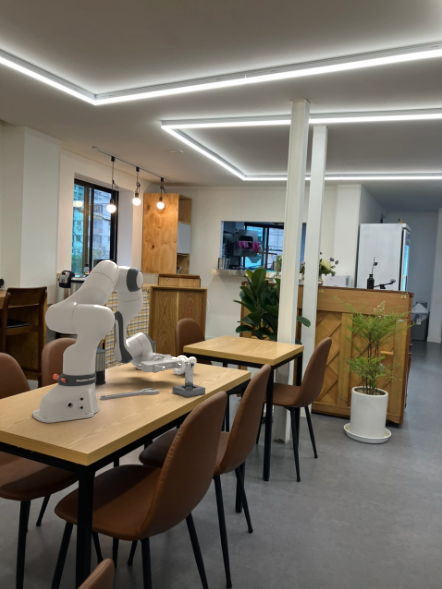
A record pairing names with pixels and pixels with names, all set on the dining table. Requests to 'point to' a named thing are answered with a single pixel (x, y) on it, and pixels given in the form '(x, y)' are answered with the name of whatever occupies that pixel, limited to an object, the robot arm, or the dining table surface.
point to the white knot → (184, 359)
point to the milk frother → (100, 366)
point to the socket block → (188, 390)
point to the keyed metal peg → (189, 375)
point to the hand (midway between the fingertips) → (172, 367)
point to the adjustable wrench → (131, 394)
